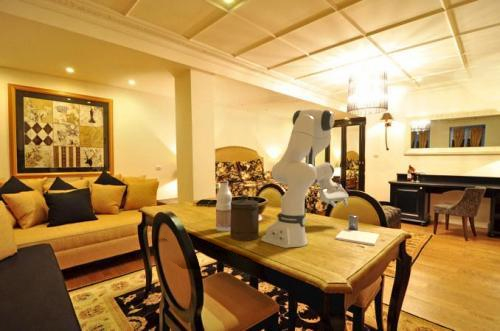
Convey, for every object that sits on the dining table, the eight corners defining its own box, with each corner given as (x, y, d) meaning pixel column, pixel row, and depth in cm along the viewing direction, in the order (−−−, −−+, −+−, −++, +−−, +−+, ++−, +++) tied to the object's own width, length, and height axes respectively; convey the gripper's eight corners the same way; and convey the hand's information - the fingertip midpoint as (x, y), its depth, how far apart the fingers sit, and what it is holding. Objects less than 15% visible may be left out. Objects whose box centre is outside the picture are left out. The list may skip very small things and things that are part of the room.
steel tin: (347, 230, 143) (347, 216, 143) (349, 228, 148) (349, 214, 147) (356, 231, 141) (357, 217, 141) (358, 229, 145) (358, 215, 145)
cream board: (335, 239, 127) (335, 237, 127) (343, 230, 142) (343, 229, 142) (374, 245, 117) (374, 243, 117) (379, 236, 132) (379, 234, 132)
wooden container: (247, 230, 142) (247, 192, 141) (264, 237, 130) (264, 195, 130) (225, 235, 133) (225, 194, 133) (240, 242, 121) (240, 197, 121)
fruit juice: (221, 232, 138) (221, 182, 137) (212, 229, 145) (212, 180, 144) (235, 229, 144) (235, 181, 143) (226, 226, 151) (226, 180, 150)
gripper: (319, 185, 153) (332, 204, 144) (342, 184, 163) (355, 201, 154) (314, 192, 156) (326, 210, 148) (337, 190, 167) (349, 207, 158)
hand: (341, 206), depth 151 cm, fingers open, 8 cm apart
